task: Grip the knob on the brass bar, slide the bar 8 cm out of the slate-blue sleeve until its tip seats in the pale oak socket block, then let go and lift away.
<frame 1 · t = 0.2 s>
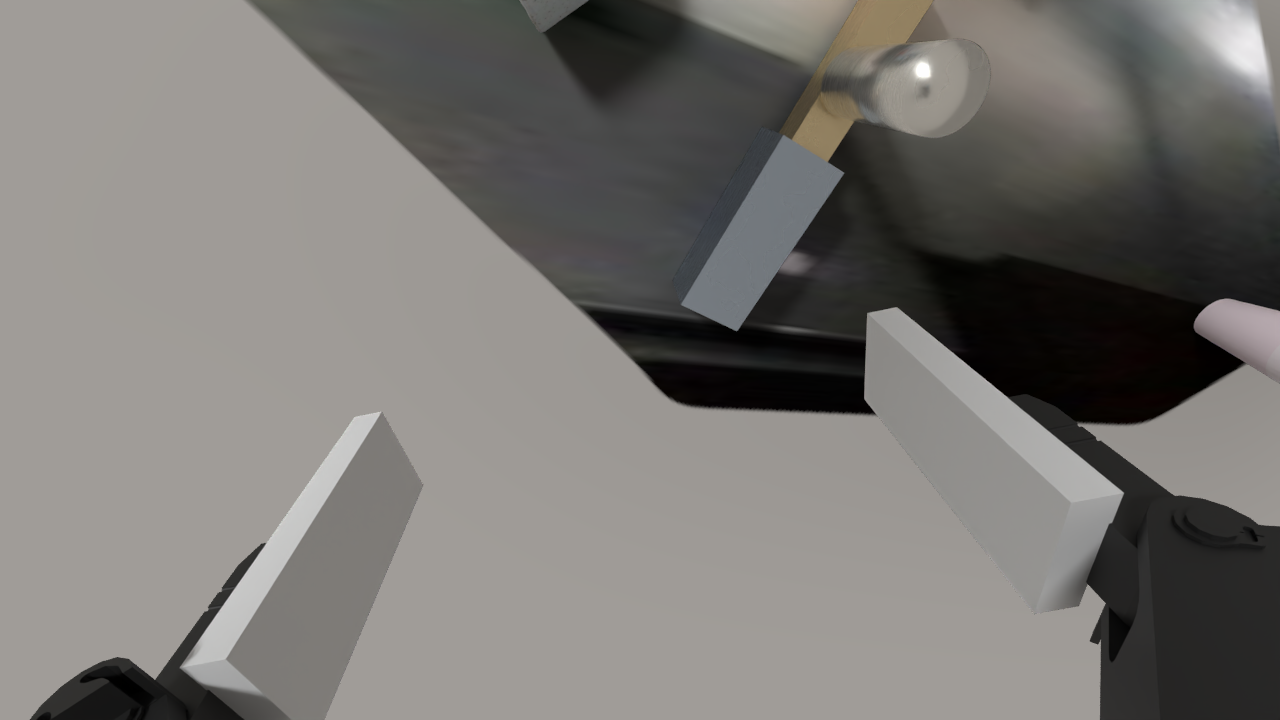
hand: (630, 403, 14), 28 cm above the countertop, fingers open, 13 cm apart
smoothie: (1213, 316, 48), on the countertop
sleeve: (698, 292, 43), on the countertop
brass bar: (834, 152, 31), point 7 cm above the countertop, slide at 0.0 cm
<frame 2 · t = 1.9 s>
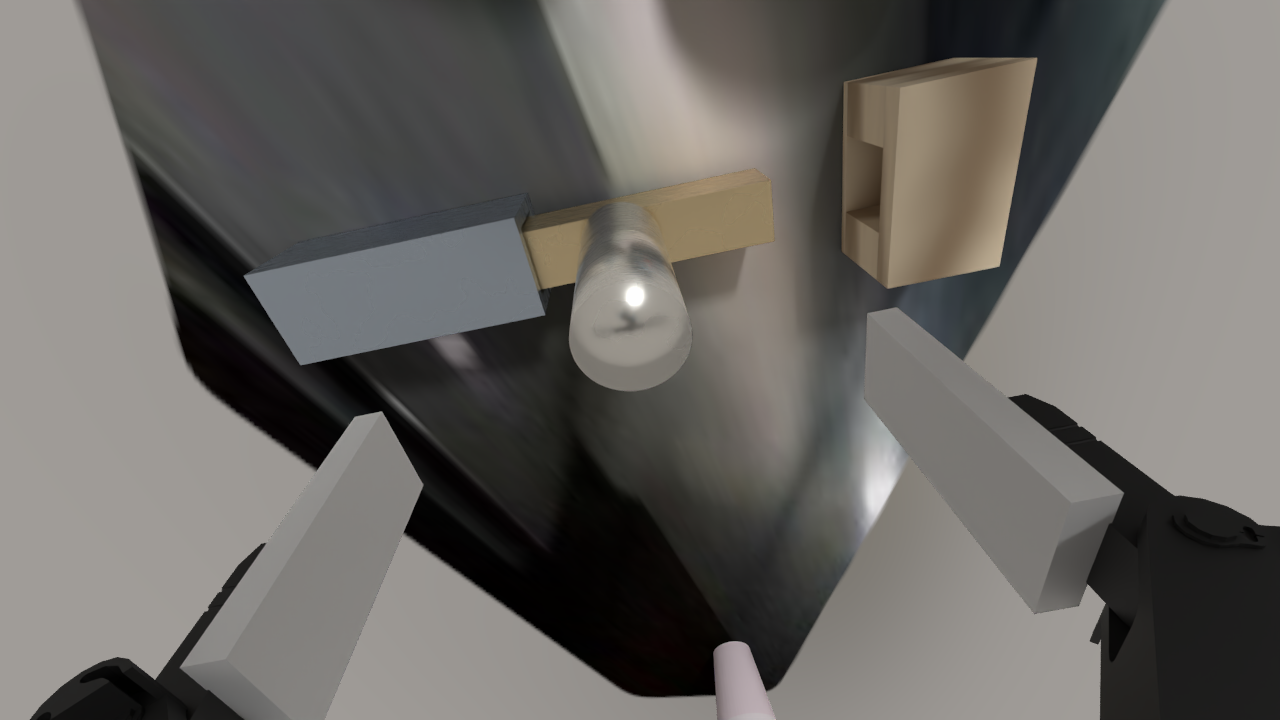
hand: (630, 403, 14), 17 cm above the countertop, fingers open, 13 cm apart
smoothie: (731, 649, 52), on the countertop
sleeve: (321, 283, 29), on the countertop
brass bar: (534, 287, 22), point 8 cm above the countertop, slide at 0.0 cm
socket block: (920, 173, 25), on the countertop
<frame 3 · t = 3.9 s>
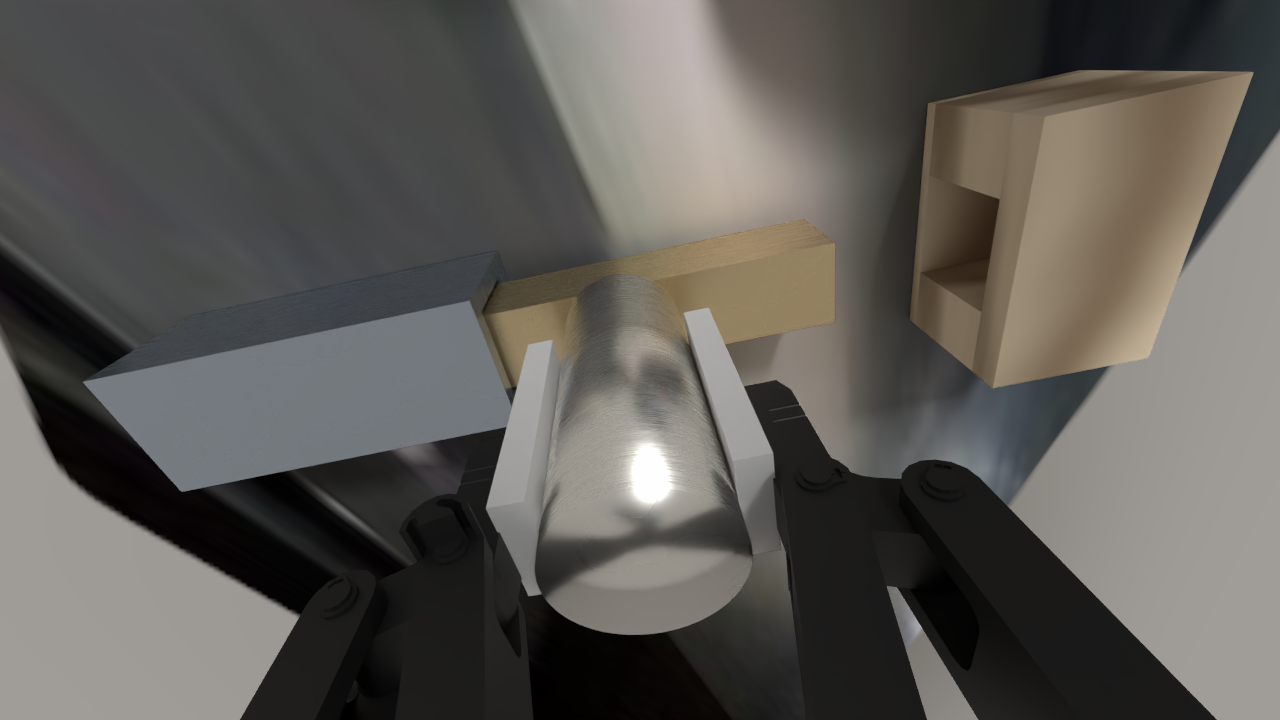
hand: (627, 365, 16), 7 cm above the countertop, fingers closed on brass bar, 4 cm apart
sleeve: (226, 367, 22), on the countertop
brass bar: (496, 407, 15), point 7 cm above the countertop, slide at 0.0 cm, touching gripper
socket block: (1036, 228, 18), on the countertop
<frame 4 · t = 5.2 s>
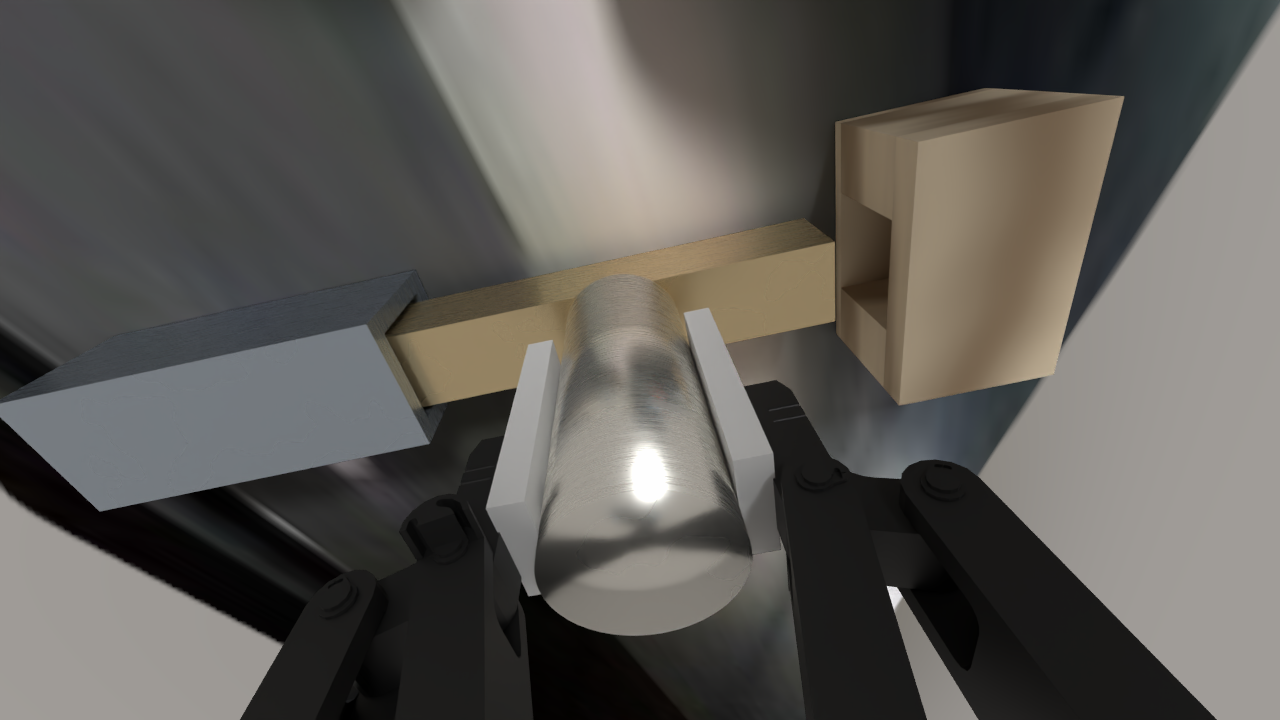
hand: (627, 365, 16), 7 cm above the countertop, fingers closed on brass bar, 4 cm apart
sleeve: (154, 385, 22), on the countertop
brass bar: (496, 408, 15), point 8 cm above the countertop, slide at 3.4 cm, touching gripper
socket block: (942, 246, 18), on the countertop
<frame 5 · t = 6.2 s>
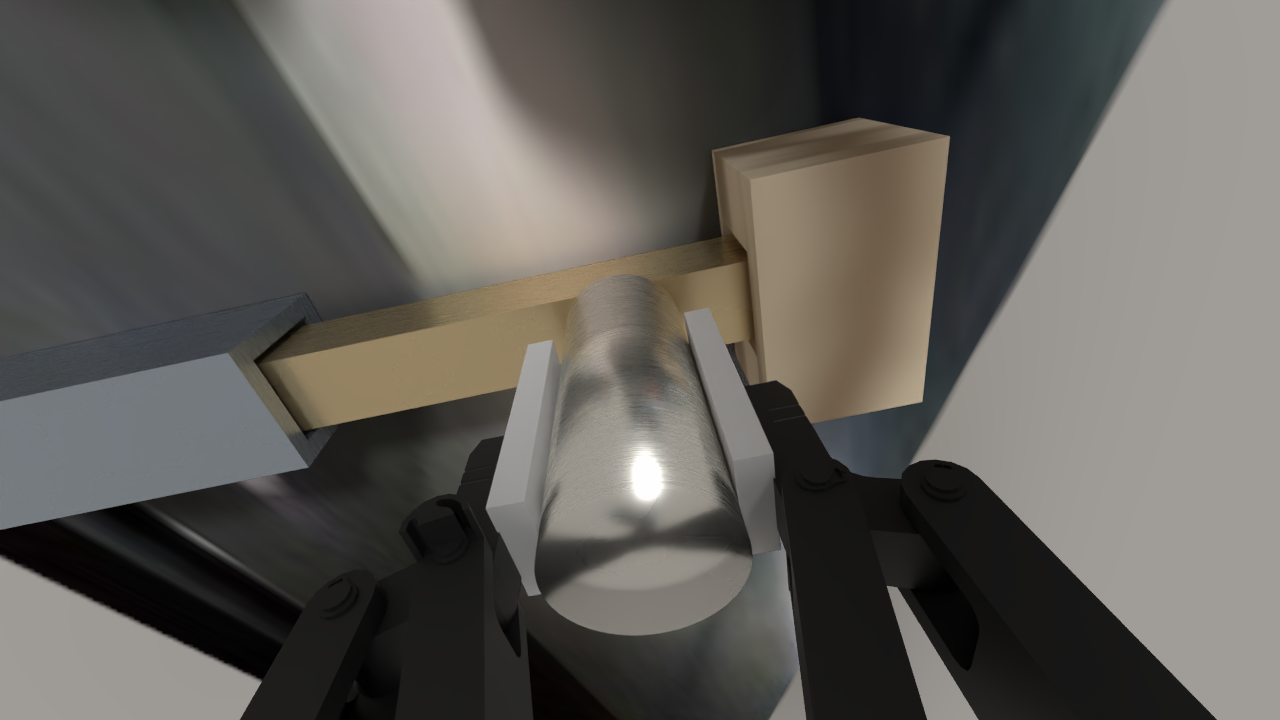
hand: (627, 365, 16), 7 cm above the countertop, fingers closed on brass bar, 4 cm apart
sleeve: (55, 404, 23), on the countertop
brass bar: (496, 407, 15), point 8 cm above the countertop, slide at 8.0 cm, touching gripper
socket block: (815, 273, 19), on the countertop
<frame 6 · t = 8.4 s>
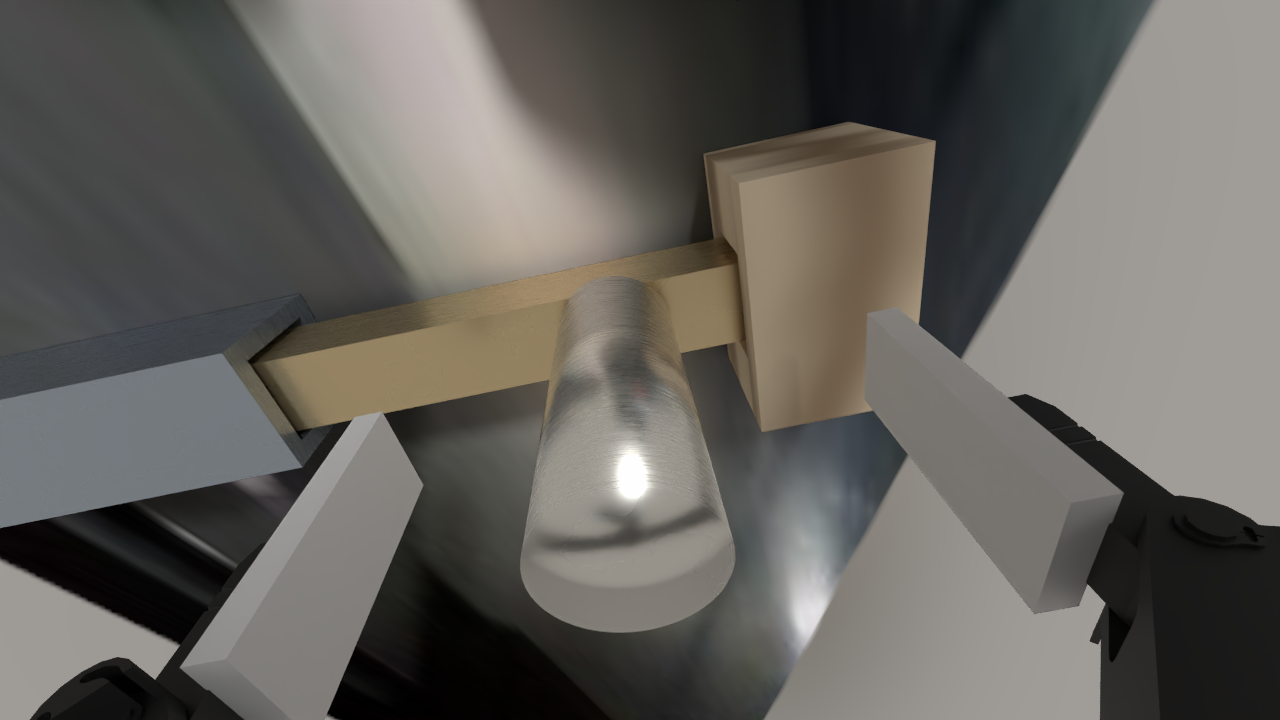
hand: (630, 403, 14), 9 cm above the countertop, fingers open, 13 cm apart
sleeve: (49, 405, 23), on the countertop
brass bar: (488, 408, 15), point 8 cm above the countertop, slide at 8.0 cm
socket block: (805, 276, 19), on the countertop
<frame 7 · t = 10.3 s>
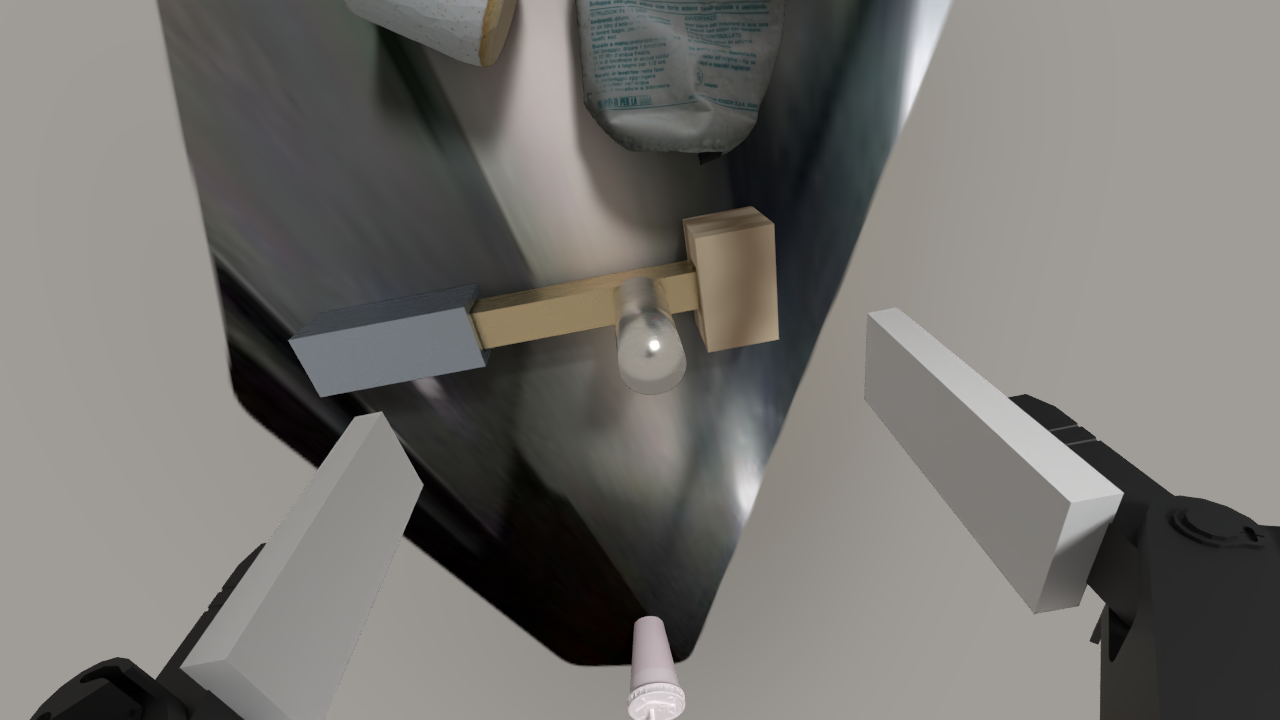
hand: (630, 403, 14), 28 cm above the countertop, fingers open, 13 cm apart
smoothie: (648, 624, 64), on the countertop
sleeve: (334, 339, 42), on the countertop
brass bar: (587, 331, 36), point 7 cm above the countertop, slide at 8.0 cm
socket block: (730, 278, 40), on the countertop
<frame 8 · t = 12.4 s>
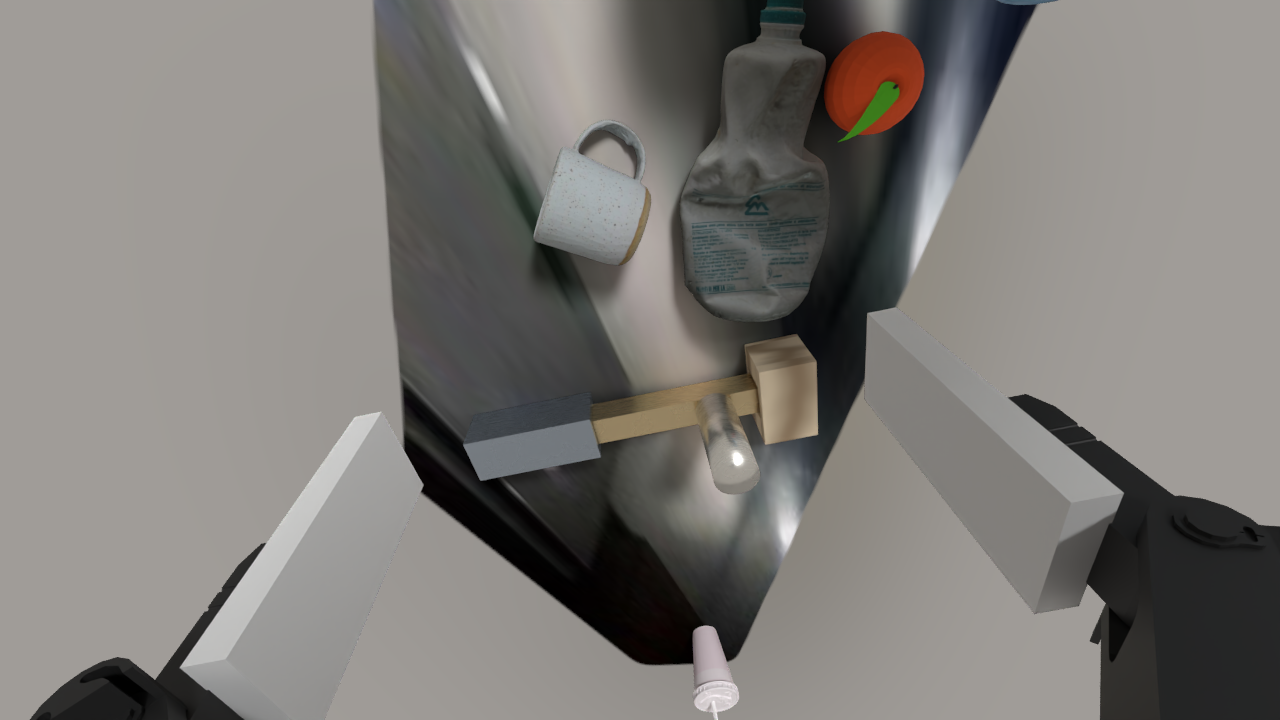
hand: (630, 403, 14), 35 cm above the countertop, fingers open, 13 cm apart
smoothie: (704, 631, 79), on the countertop
sleeve: (481, 432, 57), on the countertop
clementine: (847, 90, 42), on the countertop
ceramic mug: (594, 184, 45), on the countertop
brass bar: (680, 438, 49), point 7 cm above the countertop, slide at 8.0 cm
socket block: (780, 389, 53), on the countertop
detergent: (751, 170, 45), on the countertop
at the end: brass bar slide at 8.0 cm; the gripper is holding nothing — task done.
